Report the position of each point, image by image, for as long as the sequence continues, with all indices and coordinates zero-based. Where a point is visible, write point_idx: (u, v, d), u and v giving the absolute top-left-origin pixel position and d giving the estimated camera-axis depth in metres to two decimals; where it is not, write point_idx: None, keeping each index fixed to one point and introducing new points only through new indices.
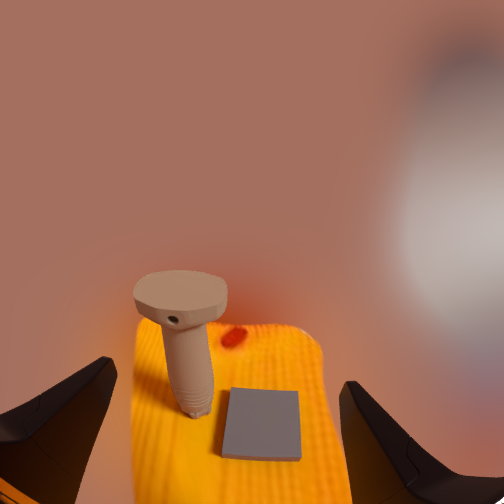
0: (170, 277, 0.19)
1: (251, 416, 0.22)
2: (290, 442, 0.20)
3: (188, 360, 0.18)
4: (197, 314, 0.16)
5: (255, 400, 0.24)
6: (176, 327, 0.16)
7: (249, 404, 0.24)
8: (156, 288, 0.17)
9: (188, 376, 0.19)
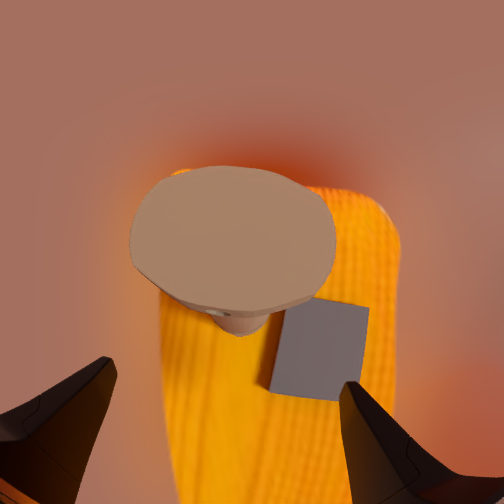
0: (208, 189, 0.09)
1: (310, 340, 0.20)
2: None
3: (241, 317, 0.12)
4: (272, 309, 0.07)
5: (317, 316, 0.21)
6: (225, 316, 0.08)
7: (309, 322, 0.20)
8: (178, 227, 0.08)
9: (238, 325, 0.14)
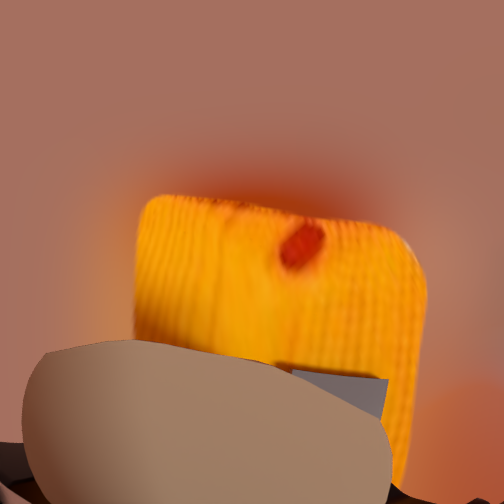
0: (125, 407, 0.03)
1: None
2: None
3: None
4: None
5: None
6: None
7: None
8: (87, 471, 0.03)
9: None
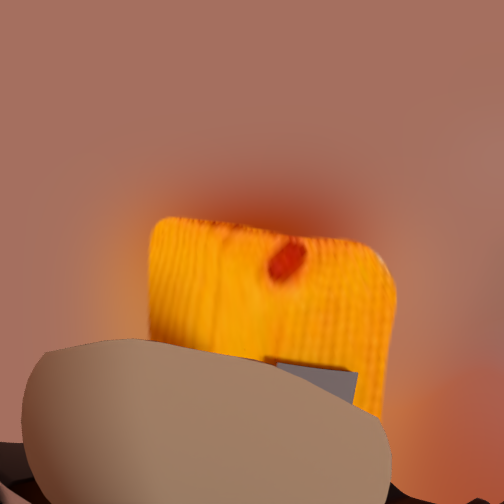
0: (124, 406, 0.03)
1: None
2: None
3: None
4: None
5: None
6: None
7: None
8: (87, 469, 0.03)
9: None
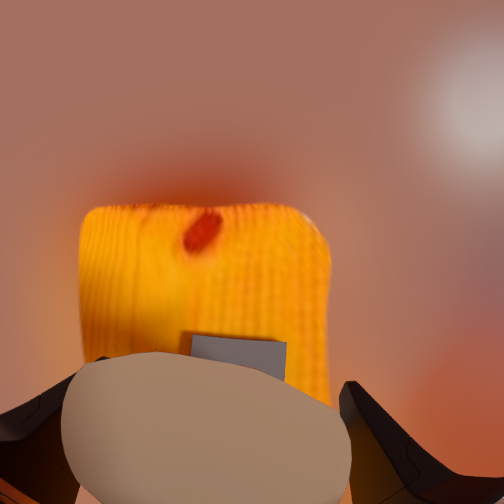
0: (151, 401, 0.04)
1: None
2: None
3: None
4: None
5: (225, 357, 0.19)
6: None
7: None
8: (118, 453, 0.04)
9: None
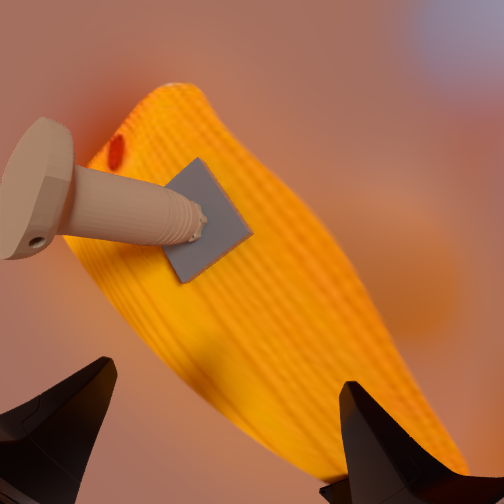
0: (6, 183, 0.08)
1: None
2: (227, 222, 0.21)
3: (115, 227, 0.12)
4: (40, 211, 0.07)
5: None
6: (49, 240, 0.08)
7: None
8: (3, 218, 0.08)
9: (137, 233, 0.14)
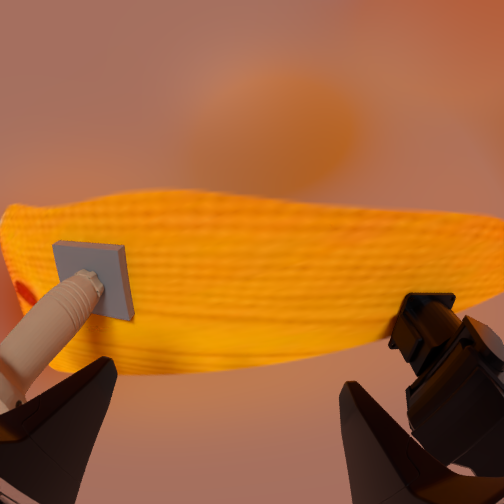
0: None
1: None
2: (103, 259, 0.21)
3: (43, 350, 0.12)
4: (1, 392, 0.07)
5: None
6: (22, 397, 0.09)
7: None
8: None
9: (58, 337, 0.14)
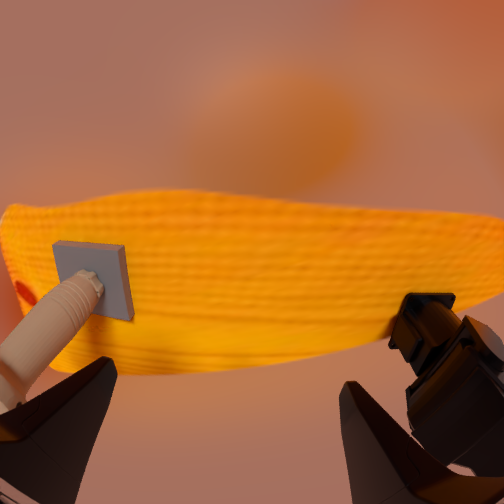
0: None
1: None
2: (103, 259, 0.21)
3: (43, 351, 0.12)
4: (1, 394, 0.07)
5: None
6: (22, 399, 0.09)
7: None
8: None
9: (58, 338, 0.14)
